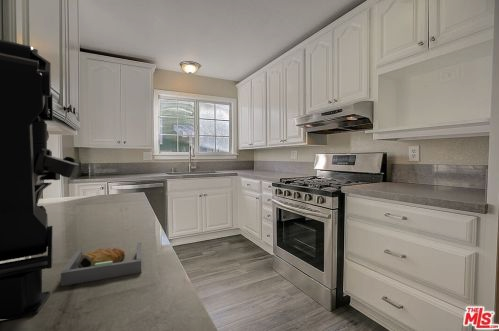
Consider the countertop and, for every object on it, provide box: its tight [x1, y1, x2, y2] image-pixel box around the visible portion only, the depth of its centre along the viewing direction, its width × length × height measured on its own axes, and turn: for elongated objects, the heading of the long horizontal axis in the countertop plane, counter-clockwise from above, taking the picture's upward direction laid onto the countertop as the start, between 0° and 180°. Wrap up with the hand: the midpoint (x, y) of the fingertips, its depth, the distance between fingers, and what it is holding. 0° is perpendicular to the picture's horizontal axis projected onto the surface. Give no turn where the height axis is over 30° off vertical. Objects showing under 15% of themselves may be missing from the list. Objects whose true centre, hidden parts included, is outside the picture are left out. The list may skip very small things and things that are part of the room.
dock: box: [60, 242, 142, 287], centre depth 54 cm, size 13×14×3 cm
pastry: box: [77, 248, 126, 268], centre depth 55 cm, size 9×7×4 cm
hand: (29, 216), depth 51 cm, fingers closed
